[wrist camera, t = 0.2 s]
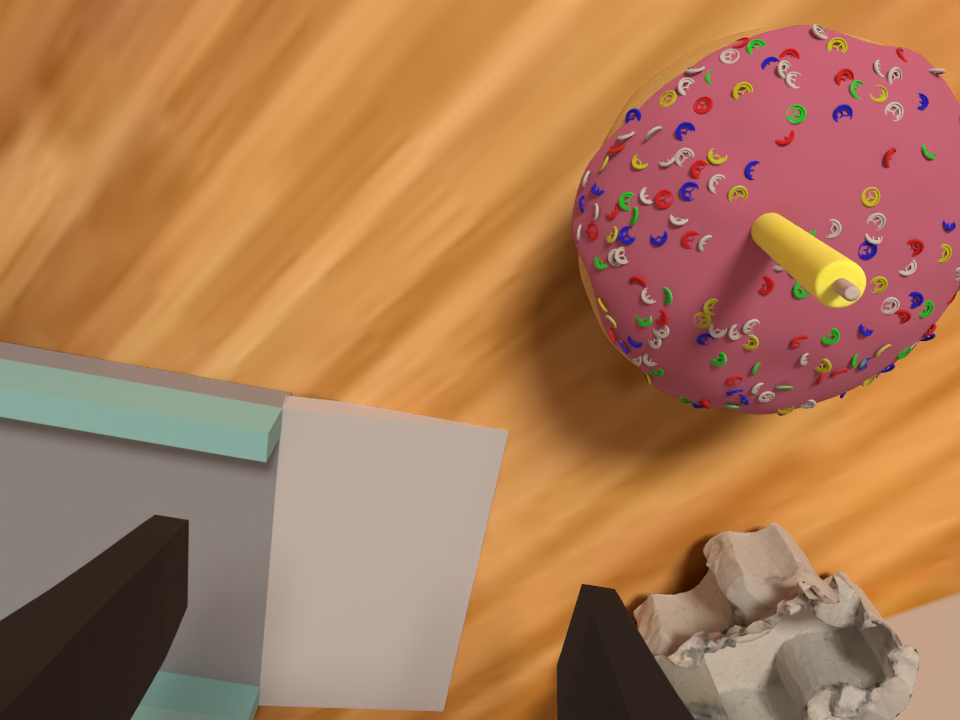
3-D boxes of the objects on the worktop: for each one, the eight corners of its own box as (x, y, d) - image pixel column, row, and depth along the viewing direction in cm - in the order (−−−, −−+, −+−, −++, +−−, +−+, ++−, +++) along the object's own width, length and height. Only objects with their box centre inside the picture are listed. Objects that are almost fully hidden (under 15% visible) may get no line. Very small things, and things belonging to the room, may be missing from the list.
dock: (444, 694, 30) (436, 783, 26) (-85, 611, 28) (-166, 691, 25) (508, 419, 24) (509, 484, 21) (-142, 303, 23) (-255, 352, 20)
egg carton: (757, 490, 23) (815, 578, 20) (892, 606, 26) (967, 704, 22) (529, 678, 26) (542, 784, 23) (667, 766, 29) (700, 876, 25)
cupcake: (500, 228, 21) (497, 452, 10) (702, -56, 18) (1023, -188, 7) (728, 384, 23) (939, 720, 12) (946, 151, 19) (1510, 309, 9)
